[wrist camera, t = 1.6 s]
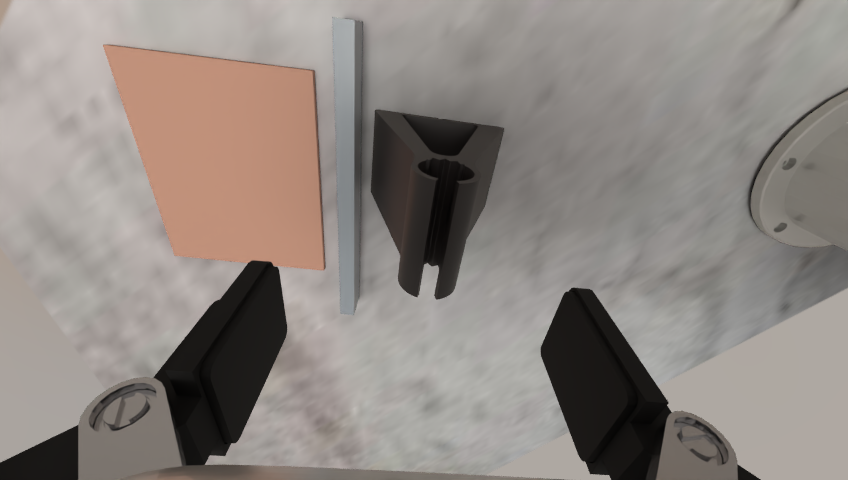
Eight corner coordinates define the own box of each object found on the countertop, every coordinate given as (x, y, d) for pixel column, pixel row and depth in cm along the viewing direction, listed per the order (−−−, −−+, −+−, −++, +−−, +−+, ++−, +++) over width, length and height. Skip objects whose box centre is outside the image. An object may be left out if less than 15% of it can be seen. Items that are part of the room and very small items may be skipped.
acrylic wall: (362, 22, 20) (354, 19, 18) (359, 296, 31) (354, 315, 29) (342, 19, 20) (332, 17, 18) (346, 295, 31) (340, 313, 29)
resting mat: (314, 70, 21) (312, 71, 21) (325, 267, 30) (324, 270, 29) (108, 44, 21) (102, 44, 21) (177, 253, 29) (174, 255, 29)
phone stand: (503, 127, 23) (561, 197, 13) (483, 204, 26) (517, 309, 16) (376, 108, 23) (330, 164, 12) (371, 188, 26) (331, 287, 16)
